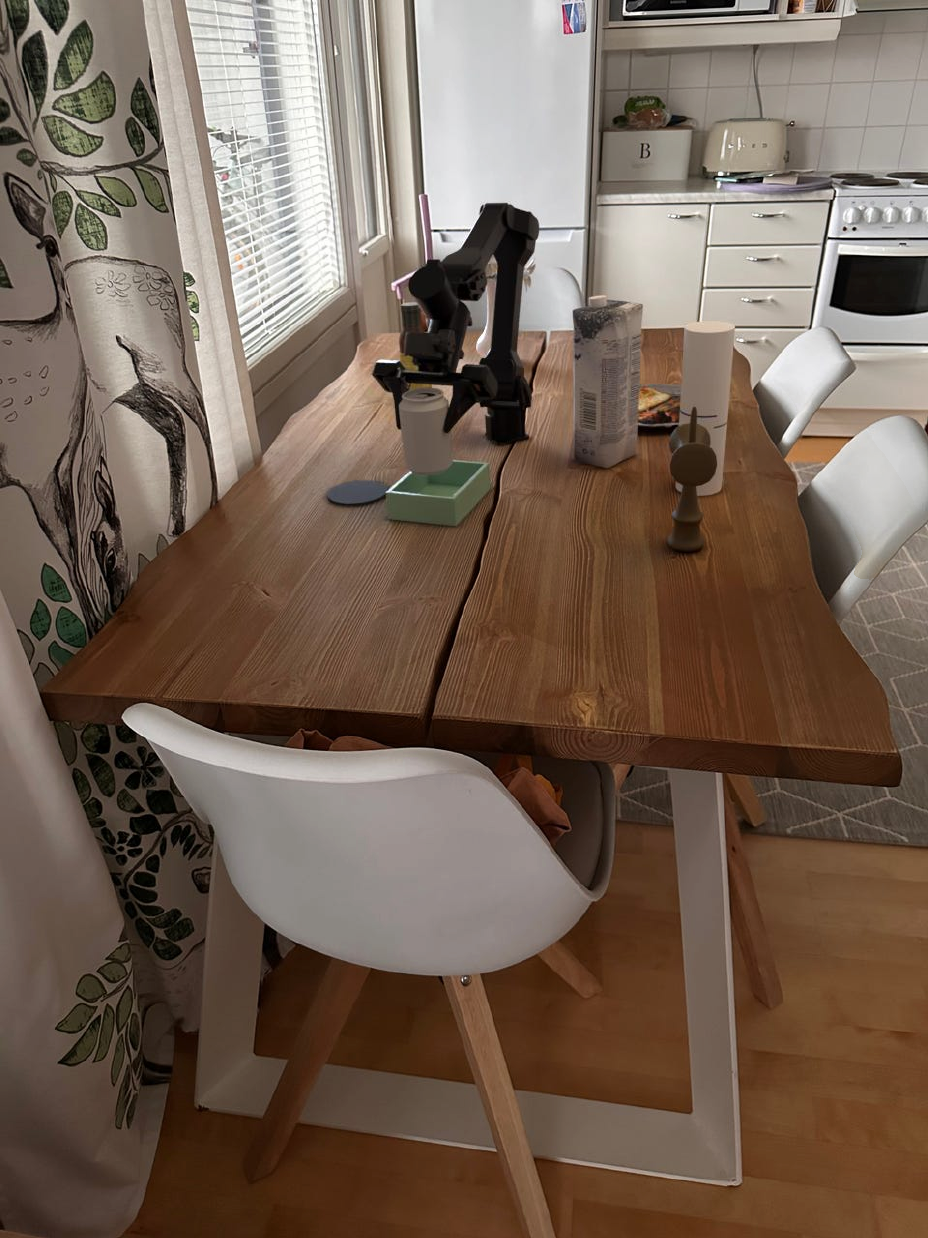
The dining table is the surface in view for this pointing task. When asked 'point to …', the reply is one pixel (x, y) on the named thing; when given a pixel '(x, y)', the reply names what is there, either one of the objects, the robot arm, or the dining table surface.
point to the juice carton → (606, 380)
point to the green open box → (439, 494)
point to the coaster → (357, 493)
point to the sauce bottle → (410, 326)
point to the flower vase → (491, 271)
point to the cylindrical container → (708, 387)
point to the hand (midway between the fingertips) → (421, 430)
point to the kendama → (690, 480)
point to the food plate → (659, 405)
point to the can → (425, 431)
